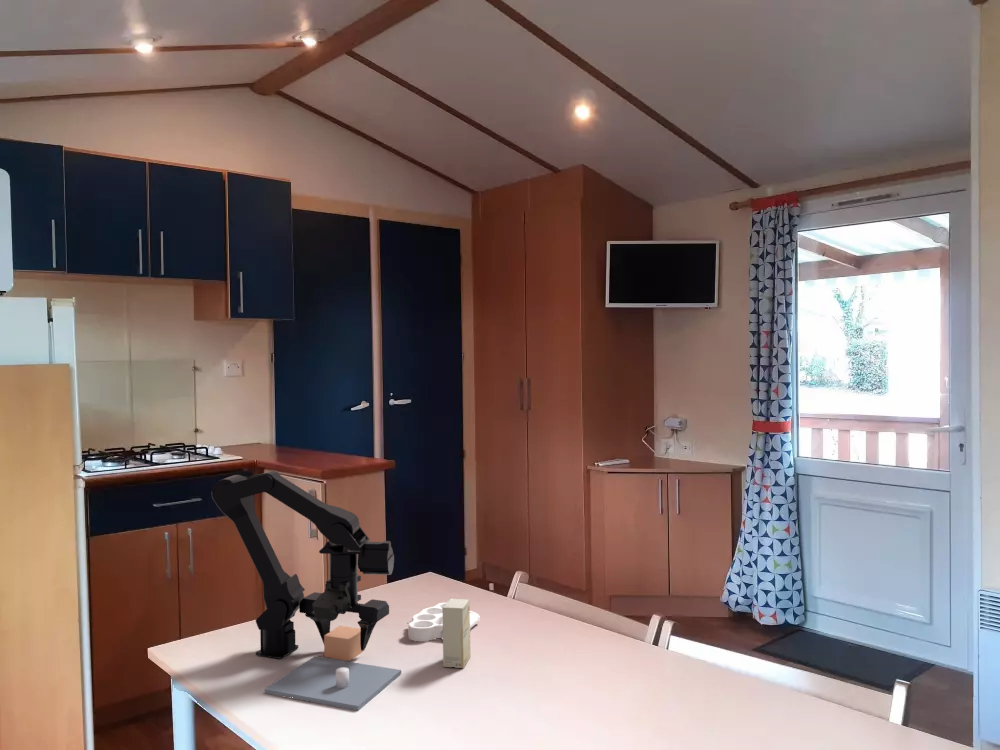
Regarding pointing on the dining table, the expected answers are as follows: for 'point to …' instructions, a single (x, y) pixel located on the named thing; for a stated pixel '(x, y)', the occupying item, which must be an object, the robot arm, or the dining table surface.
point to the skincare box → (456, 633)
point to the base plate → (334, 682)
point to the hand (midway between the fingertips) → (344, 647)
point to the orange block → (342, 643)
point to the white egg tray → (432, 623)
